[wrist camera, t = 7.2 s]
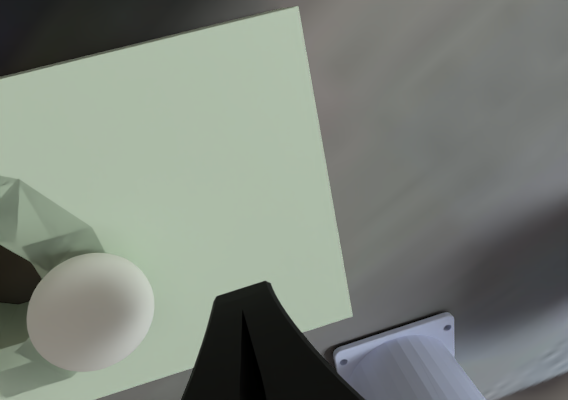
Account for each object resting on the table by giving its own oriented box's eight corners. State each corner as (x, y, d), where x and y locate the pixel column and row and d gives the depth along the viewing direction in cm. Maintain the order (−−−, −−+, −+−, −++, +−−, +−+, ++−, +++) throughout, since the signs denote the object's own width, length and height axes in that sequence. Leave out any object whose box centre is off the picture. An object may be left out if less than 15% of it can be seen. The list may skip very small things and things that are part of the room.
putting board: (333, 279, 22) (352, 316, 19) (-31, 393, 20) (-66, 451, 17) (280, 8, 15) (298, 6, 13) (-264, 141, 14) (-376, 171, 11)
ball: (111, 409, 13) (68, 338, 16) (194, 317, 14) (142, 264, 17) (16, 383, 10) (-20, 300, 13) (130, 270, 11) (78, 213, 14)
